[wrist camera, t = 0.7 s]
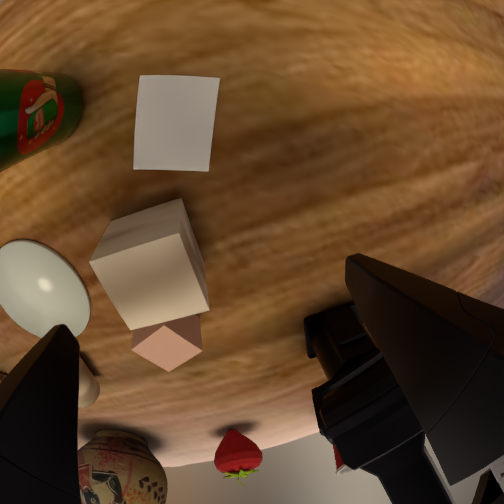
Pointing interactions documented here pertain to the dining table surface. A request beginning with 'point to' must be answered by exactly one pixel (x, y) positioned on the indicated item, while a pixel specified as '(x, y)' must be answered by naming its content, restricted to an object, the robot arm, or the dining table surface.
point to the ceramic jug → (120, 471)
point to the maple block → (152, 266)
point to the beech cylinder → (87, 386)
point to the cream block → (174, 122)
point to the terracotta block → (169, 341)
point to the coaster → (41, 288)
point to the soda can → (35, 112)
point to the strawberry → (237, 455)
